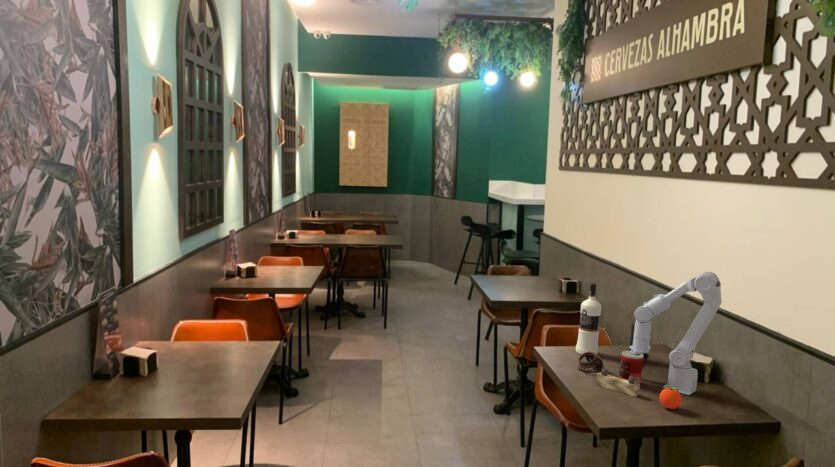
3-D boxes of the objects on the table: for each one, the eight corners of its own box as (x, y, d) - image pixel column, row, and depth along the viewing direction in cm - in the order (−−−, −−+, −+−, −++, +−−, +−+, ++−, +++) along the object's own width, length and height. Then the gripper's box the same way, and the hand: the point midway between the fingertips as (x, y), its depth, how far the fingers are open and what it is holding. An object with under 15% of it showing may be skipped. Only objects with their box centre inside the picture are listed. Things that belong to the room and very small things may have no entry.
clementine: (666, 402, 213) (669, 382, 213) (686, 409, 208) (688, 388, 207) (654, 406, 208) (656, 386, 208) (673, 414, 203) (676, 393, 202)
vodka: (602, 355, 261) (609, 285, 258) (584, 357, 258) (591, 286, 254) (588, 349, 270) (595, 281, 266) (570, 350, 266) (577, 281, 262)
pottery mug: (608, 376, 237) (601, 359, 235) (584, 384, 239) (577, 367, 237) (602, 359, 248) (595, 342, 246) (579, 366, 250) (572, 350, 248)
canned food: (642, 381, 232) (645, 353, 231) (638, 388, 225) (641, 359, 224) (621, 376, 236) (624, 348, 234) (616, 383, 229) (619, 354, 227)
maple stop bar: (638, 395, 218) (640, 378, 218) (635, 397, 216) (637, 380, 215) (598, 382, 228) (600, 366, 228) (595, 384, 226) (596, 368, 225)
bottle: (635, 356, 263) (640, 310, 261) (648, 361, 257) (654, 314, 255) (624, 358, 260) (629, 311, 257) (637, 363, 254) (643, 315, 252)
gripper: (639, 331, 242) (635, 365, 243) (623, 338, 231) (619, 373, 233) (657, 335, 237) (653, 370, 239) (641, 342, 226) (637, 378, 228)
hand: (637, 372), depth 235 cm, fingers closed
